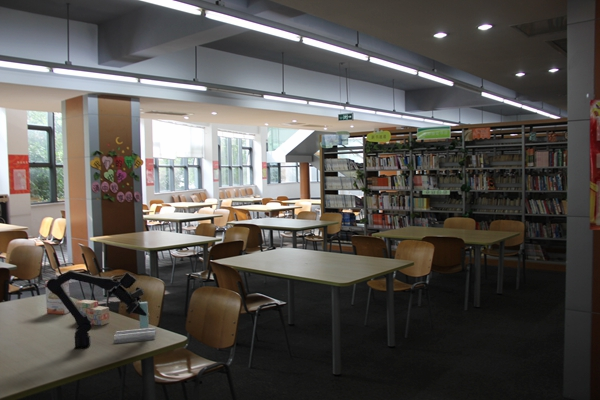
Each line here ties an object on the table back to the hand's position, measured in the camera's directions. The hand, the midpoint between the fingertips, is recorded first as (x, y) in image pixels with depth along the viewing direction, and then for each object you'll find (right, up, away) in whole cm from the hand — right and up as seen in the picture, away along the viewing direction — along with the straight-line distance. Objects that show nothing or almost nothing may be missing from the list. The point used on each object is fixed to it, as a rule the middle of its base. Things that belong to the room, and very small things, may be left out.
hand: (146, 314), depth 257 cm
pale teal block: (-1, -7, 0) cm, 7 cm away
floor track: (-6, -13, +1) cm, 14 cm away
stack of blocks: (-42, -13, +35) cm, 56 cm away
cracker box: (-75, -13, +59) cm, 96 cm away
